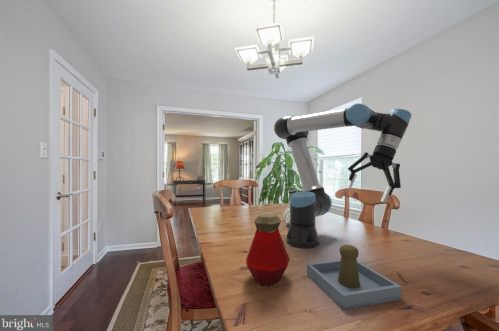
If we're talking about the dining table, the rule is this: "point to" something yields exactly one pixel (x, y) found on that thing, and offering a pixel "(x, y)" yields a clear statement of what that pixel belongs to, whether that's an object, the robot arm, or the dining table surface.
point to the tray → (368, 293)
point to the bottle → (267, 251)
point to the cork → (349, 267)
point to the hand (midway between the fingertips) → (365, 195)
